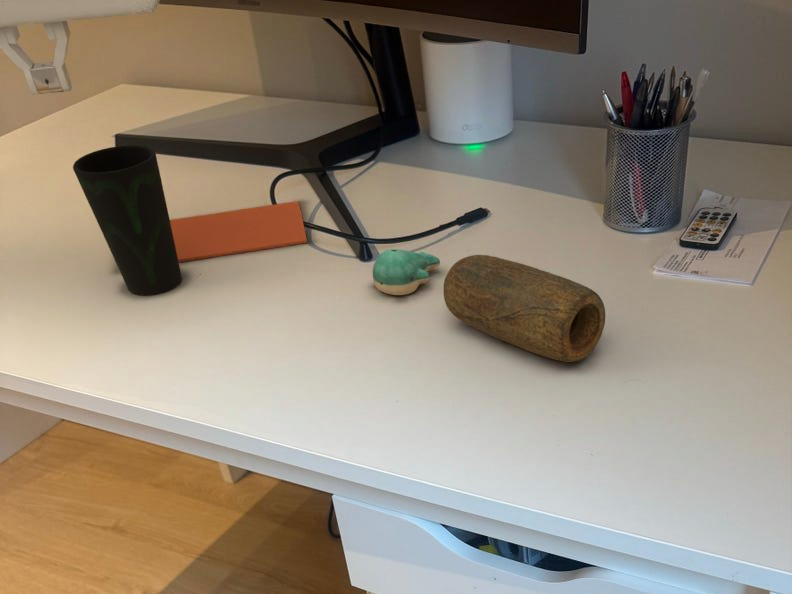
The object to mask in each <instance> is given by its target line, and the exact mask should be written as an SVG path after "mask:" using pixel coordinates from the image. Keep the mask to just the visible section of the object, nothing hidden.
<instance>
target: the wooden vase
mask: <svg viewBox="0 0 792 594" xmlns="http://www.w3.org/2000/svg"><path fill="white" fill-rule="evenodd" d="M443 300H444V303H445V305H446V308H447V309H448V311H449V312H450V313H451V314H452V315H453V316H454V317H456V318H457V319H458V320H459V321H460V322H461V321H462V322H463V323H464V324H467V325H469V326H470V327H471V328H474V329H476V330H478V331H480V332H483V333H484V334H487V335H488V336H491V337H492V338H496V339H498V340H500V341H503V342H506V343H508V344H511V345H513V346H515V347H517V348H521V349H522V350H525V351H527V352H530V353H532V354H536V355H539V356H542V357H545V358H547V359H551V360H555V361H561V362H565V363H572V362H578V361H581V360H583V359H584V358H586V357H587V356H589V355H590V354H591V353H592V352H593V350H594V349H595V348H596V346H597V344H598V343H599V341H600V339H601V337H602V334H603V332H604V328H605V324H606V308H605V307H606V306H605V304H604V301H603V299H602V298H601V296H600V295H599V293H597V292H596V291H595V290H593V289H592V288H589V287H588V286H586V285H583V284H581V283H579V282H576V281H574V280H573V279H572V280H571V279H569V278H567V277H564V276H560V275H558V274H557V275H556V274H555V273H552V272H549V271H545V270H542V269H539V268H536V267H533V266H530V265H528V264H524V263H520V262H518V261H513V260H509V259H505V258H501V257H498V256H493V255H492V256H491V255H487V254H473V255H469V256H465V257H463V258H461V259H459V260H457V261H456V262H455V263H454V264H453V265H452V266H451V267H450V269H449V270H448V272H447V274H446V276H445V278H444V283H443Z"/></svg>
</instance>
